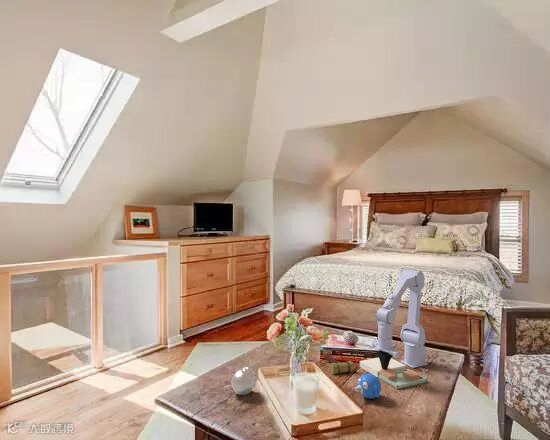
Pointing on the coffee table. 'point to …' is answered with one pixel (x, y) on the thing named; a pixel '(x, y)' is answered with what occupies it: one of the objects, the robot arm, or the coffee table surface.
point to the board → (379, 365)
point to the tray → (402, 380)
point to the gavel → (339, 365)
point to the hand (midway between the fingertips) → (384, 368)
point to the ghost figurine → (243, 381)
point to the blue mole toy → (368, 386)
